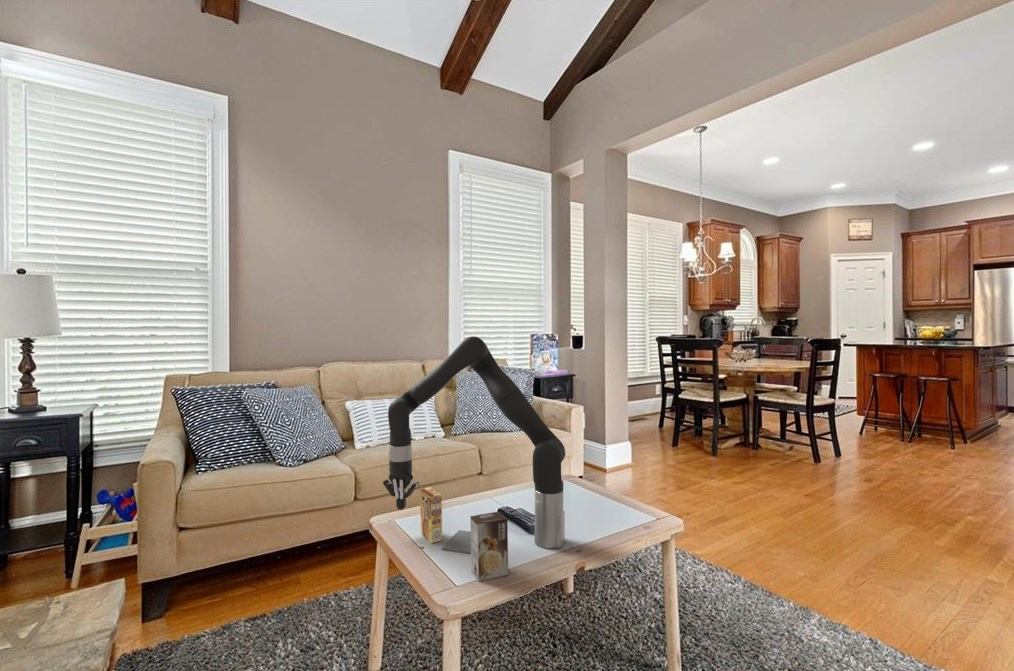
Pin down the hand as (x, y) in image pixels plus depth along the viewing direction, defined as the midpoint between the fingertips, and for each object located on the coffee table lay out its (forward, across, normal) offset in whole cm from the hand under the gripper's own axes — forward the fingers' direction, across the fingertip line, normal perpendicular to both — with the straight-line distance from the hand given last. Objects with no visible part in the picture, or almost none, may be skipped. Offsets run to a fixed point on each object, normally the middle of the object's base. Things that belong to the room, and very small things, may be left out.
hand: (401, 508), depth 161 cm
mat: (+8, -26, 0) cm, 27 cm away
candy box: (+8, -11, 0) cm, 14 cm away
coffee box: (+9, -37, +16) cm, 41 cm away
